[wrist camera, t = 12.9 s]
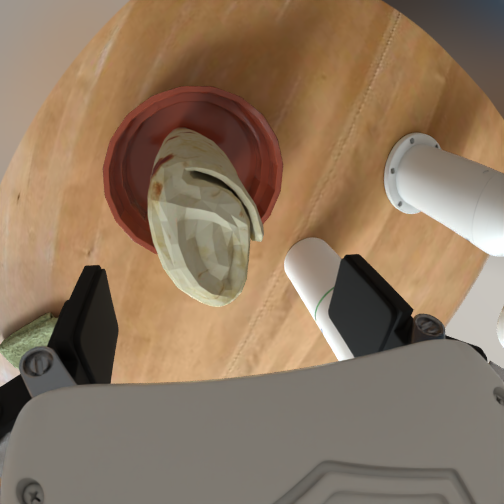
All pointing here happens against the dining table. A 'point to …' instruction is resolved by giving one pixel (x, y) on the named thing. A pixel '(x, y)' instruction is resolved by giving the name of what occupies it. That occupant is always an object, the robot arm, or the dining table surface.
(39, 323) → the washcloth
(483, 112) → the dining table surface
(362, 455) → the robot arm
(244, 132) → the bowl
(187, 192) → the food model
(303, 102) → the dining table surface
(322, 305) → the cylindrical container
